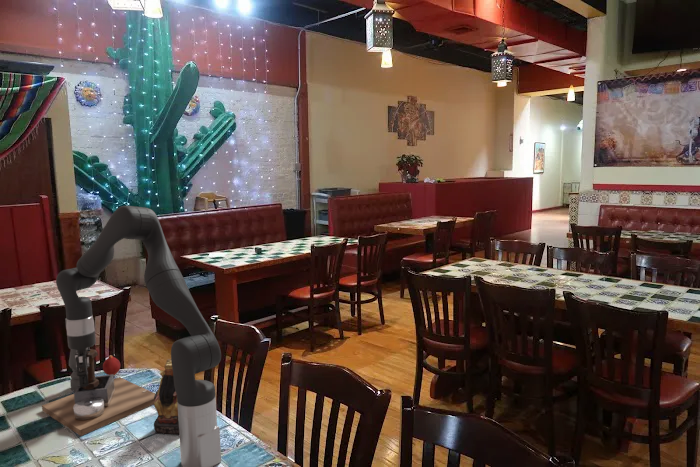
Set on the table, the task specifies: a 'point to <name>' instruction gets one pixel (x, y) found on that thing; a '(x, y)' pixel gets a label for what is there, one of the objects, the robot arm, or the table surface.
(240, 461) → the table surface
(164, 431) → the statue
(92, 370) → the bolt
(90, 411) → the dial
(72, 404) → the wooden cutting board
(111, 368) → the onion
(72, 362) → the candle holder
